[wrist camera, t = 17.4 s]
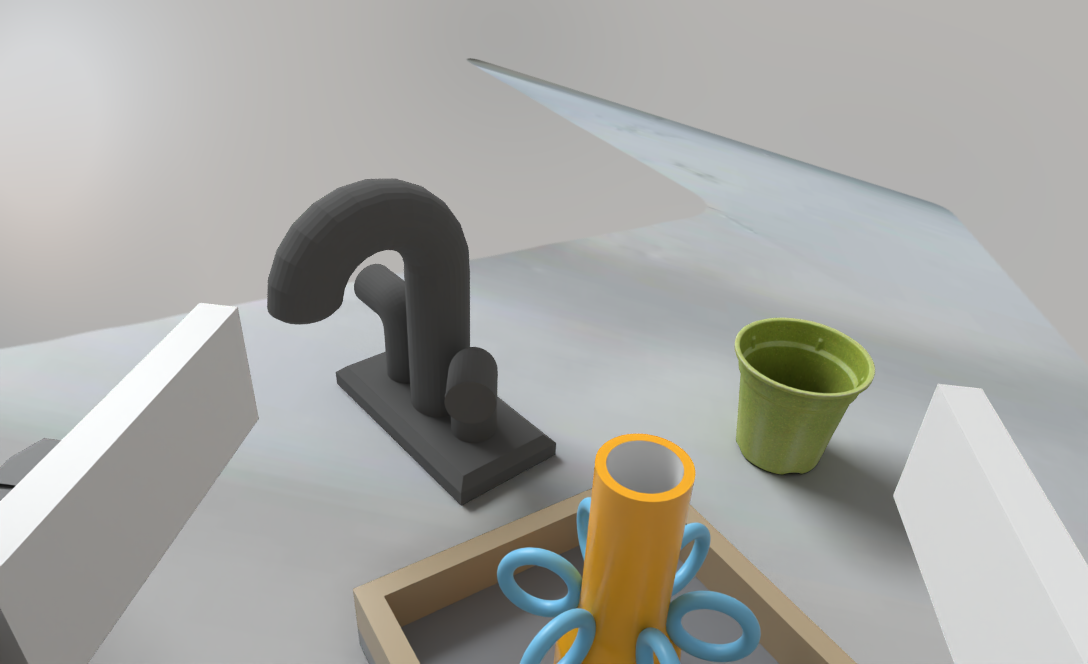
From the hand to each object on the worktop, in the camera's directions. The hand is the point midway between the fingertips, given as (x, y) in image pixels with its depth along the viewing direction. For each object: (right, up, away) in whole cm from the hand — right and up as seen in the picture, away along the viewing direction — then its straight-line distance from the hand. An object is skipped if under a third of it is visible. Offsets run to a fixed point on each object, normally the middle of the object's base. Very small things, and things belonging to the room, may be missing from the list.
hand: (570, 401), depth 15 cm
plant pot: (+17, -8, +43) cm, 47 cm away
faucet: (-11, -7, +42) cm, 44 cm away
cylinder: (+3, -17, +24) cm, 30 cm away
